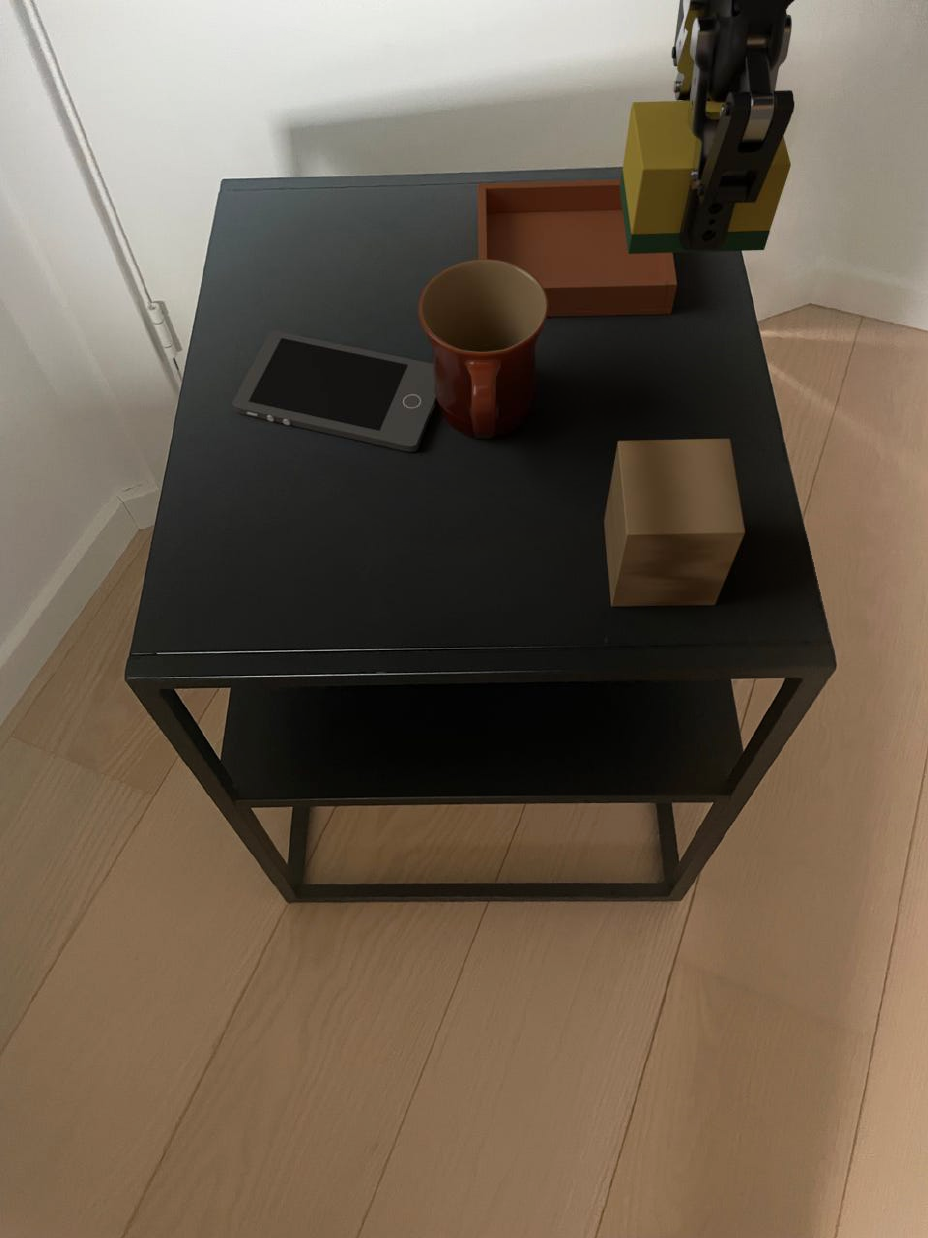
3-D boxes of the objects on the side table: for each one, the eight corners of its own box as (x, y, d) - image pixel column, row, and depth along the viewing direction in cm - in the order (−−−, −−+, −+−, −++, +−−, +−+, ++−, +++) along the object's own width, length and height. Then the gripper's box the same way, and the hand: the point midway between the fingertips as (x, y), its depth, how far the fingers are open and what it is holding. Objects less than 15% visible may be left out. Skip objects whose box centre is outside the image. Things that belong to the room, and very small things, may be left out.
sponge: (749, 184, 52) (774, 96, 47) (764, 250, 49) (791, 164, 45) (619, 188, 52) (631, 101, 47) (628, 254, 49) (642, 168, 45)
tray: (656, 208, 83) (661, 177, 80) (670, 314, 77) (677, 284, 74) (478, 213, 83) (477, 182, 80) (479, 318, 77) (478, 289, 75)
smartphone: (230, 412, 73) (228, 406, 73) (271, 335, 77) (269, 329, 76) (415, 454, 71) (414, 448, 70) (448, 372, 74) (448, 366, 74)
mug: (429, 363, 75) (420, 259, 66) (541, 362, 75) (546, 257, 66) (424, 488, 70) (413, 393, 61) (545, 487, 69) (552, 392, 60)
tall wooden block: (703, 518, 68) (730, 438, 60) (715, 605, 64) (745, 532, 56) (603, 520, 68) (617, 440, 60) (610, 607, 65) (626, 534, 57)
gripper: (934, -85, 31) (788, 305, 46) (847, -282, 38) (744, 115, 53) (705, -77, 31) (634, 310, 47) (657, -276, 38) (609, 119, 53)
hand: (693, 204), depth 50 cm, fingers closed on sponge, 5 cm apart
